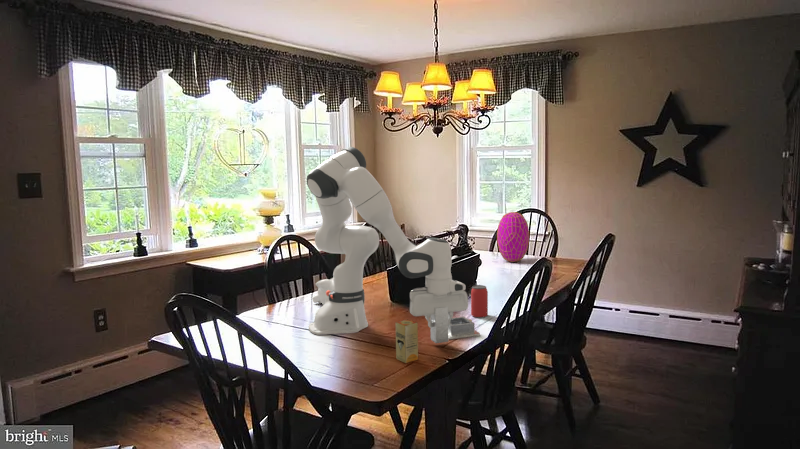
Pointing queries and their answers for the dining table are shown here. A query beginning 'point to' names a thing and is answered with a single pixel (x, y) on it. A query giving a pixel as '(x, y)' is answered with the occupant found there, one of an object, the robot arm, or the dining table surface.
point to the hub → (461, 328)
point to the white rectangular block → (440, 325)
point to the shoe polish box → (407, 341)
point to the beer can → (479, 301)
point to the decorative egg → (513, 236)
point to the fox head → (323, 291)
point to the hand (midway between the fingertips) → (439, 325)
